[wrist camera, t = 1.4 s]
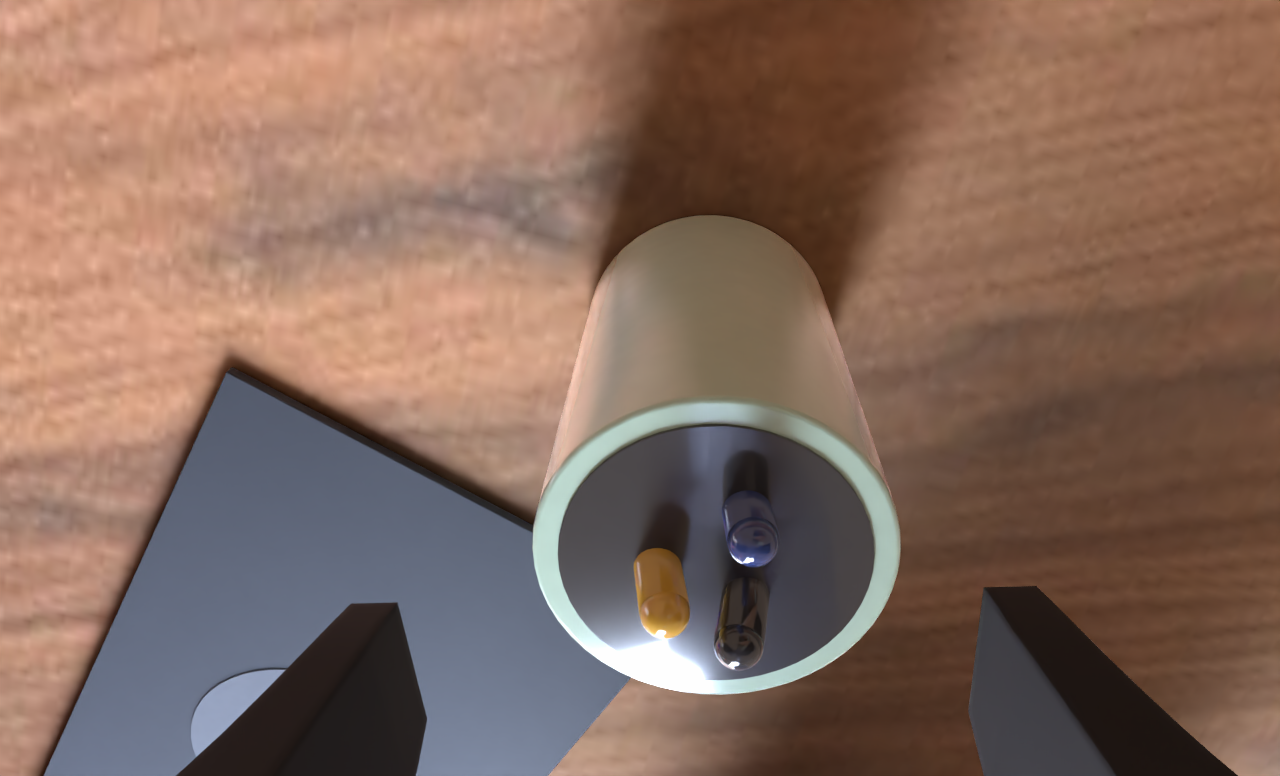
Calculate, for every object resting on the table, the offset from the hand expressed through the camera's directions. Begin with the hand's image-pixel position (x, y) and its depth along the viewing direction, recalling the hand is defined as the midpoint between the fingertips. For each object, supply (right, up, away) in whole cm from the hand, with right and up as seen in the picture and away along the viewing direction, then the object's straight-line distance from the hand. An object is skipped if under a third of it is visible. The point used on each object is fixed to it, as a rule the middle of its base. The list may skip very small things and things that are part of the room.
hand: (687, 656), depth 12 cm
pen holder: (+1, +5, +10) cm, 11 cm away
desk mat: (-11, -7, +16) cm, 21 cm away
